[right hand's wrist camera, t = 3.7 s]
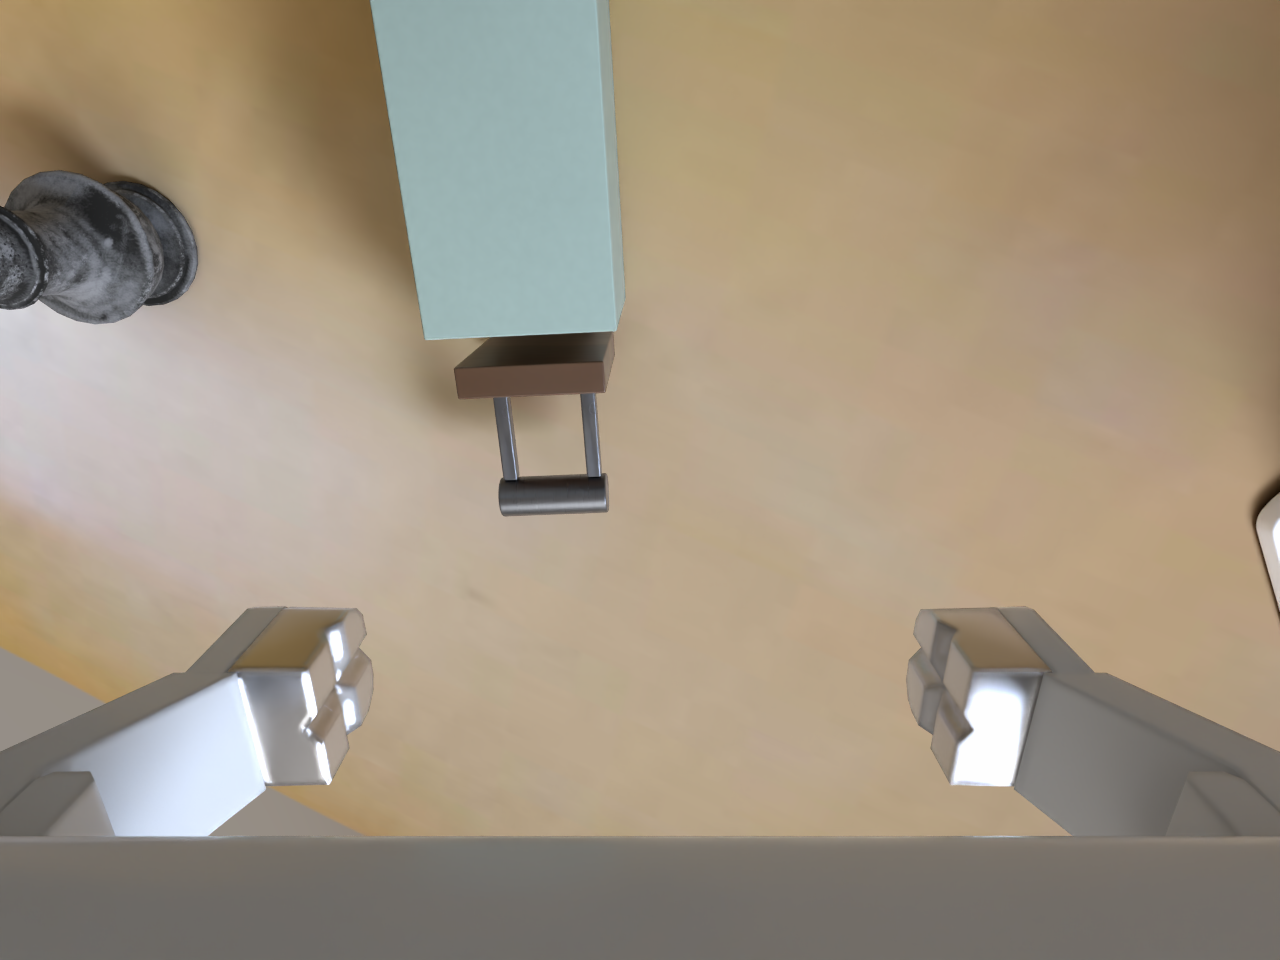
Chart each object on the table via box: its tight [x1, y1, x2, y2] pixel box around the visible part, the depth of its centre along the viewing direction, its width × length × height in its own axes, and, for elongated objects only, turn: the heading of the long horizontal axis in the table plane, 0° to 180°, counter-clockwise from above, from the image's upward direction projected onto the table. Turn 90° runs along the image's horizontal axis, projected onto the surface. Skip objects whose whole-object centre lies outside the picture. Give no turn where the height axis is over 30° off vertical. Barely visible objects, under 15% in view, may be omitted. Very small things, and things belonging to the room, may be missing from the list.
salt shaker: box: [0, 170, 198, 324], centre depth 26 cm, size 6×6×12 cm
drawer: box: [454, 331, 615, 516], centre depth 27 cm, size 23×6×7 cm, turn 3°
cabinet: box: [370, 0, 625, 340], centre depth 25 cm, size 18×7×9 cm, turn 3°
